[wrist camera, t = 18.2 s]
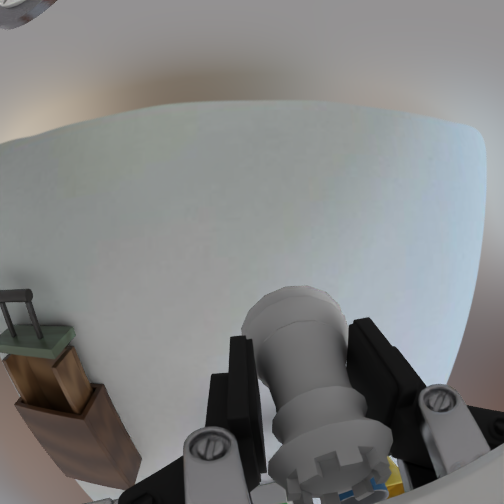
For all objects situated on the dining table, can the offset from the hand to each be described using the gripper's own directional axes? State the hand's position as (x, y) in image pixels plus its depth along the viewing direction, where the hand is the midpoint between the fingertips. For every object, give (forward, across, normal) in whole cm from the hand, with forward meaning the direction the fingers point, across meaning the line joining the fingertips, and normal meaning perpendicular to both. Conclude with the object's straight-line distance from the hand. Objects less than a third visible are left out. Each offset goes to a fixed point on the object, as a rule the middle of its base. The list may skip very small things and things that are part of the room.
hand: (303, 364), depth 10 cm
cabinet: (+19, +28, +24) cm, 42 cm away
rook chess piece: (+3, 0, 0) cm, 3 cm away
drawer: (+18, +28, +12) cm, 36 cm away
